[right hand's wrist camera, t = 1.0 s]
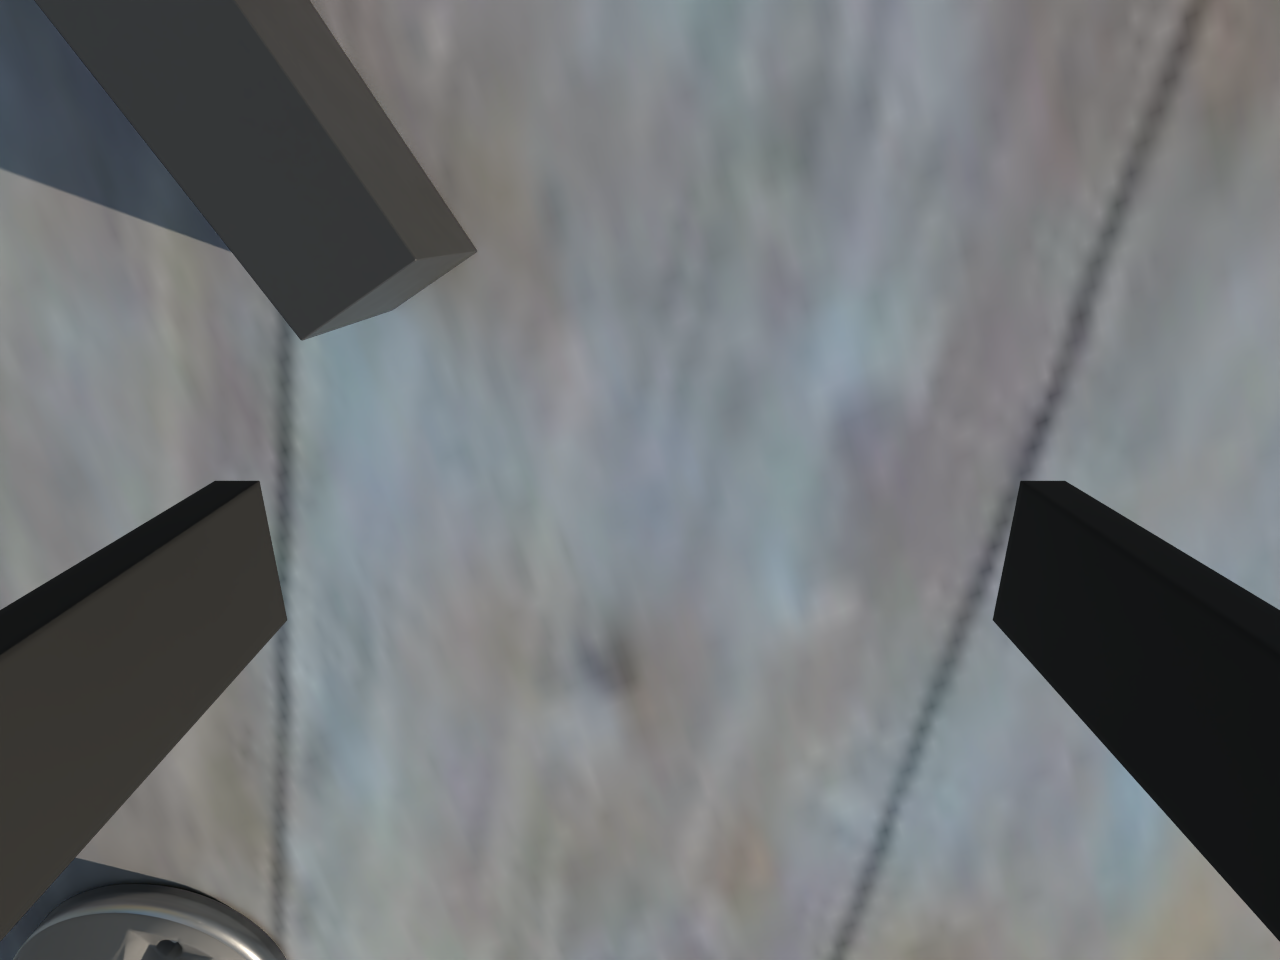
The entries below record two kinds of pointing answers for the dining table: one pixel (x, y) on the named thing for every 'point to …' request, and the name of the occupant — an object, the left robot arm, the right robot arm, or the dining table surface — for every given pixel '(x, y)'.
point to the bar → (274, 148)
